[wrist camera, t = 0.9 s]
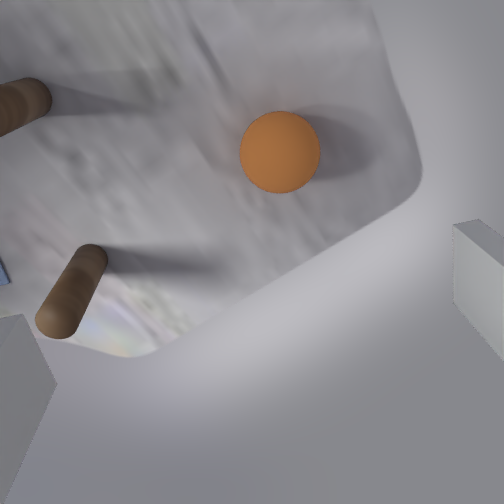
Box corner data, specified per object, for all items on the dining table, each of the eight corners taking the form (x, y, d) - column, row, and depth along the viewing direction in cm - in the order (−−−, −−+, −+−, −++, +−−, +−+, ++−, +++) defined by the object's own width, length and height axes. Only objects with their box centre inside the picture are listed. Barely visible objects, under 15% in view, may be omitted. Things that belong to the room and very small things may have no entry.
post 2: (80, 275, 38) (43, 342, 30) (69, 247, 37) (28, 308, 29) (111, 270, 38) (83, 335, 30) (102, 241, 37) (69, 300, 29)
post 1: (21, 120, 33) (-44, 150, 25) (6, 81, 32) (-67, 100, 24) (57, 113, 33) (4, 141, 25) (43, 74, 32) (-17, 90, 24)
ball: (245, 186, 36) (250, 211, 31) (231, 113, 34) (234, 128, 29) (316, 172, 36) (332, 196, 31) (307, 98, 34) (322, 111, 29)
